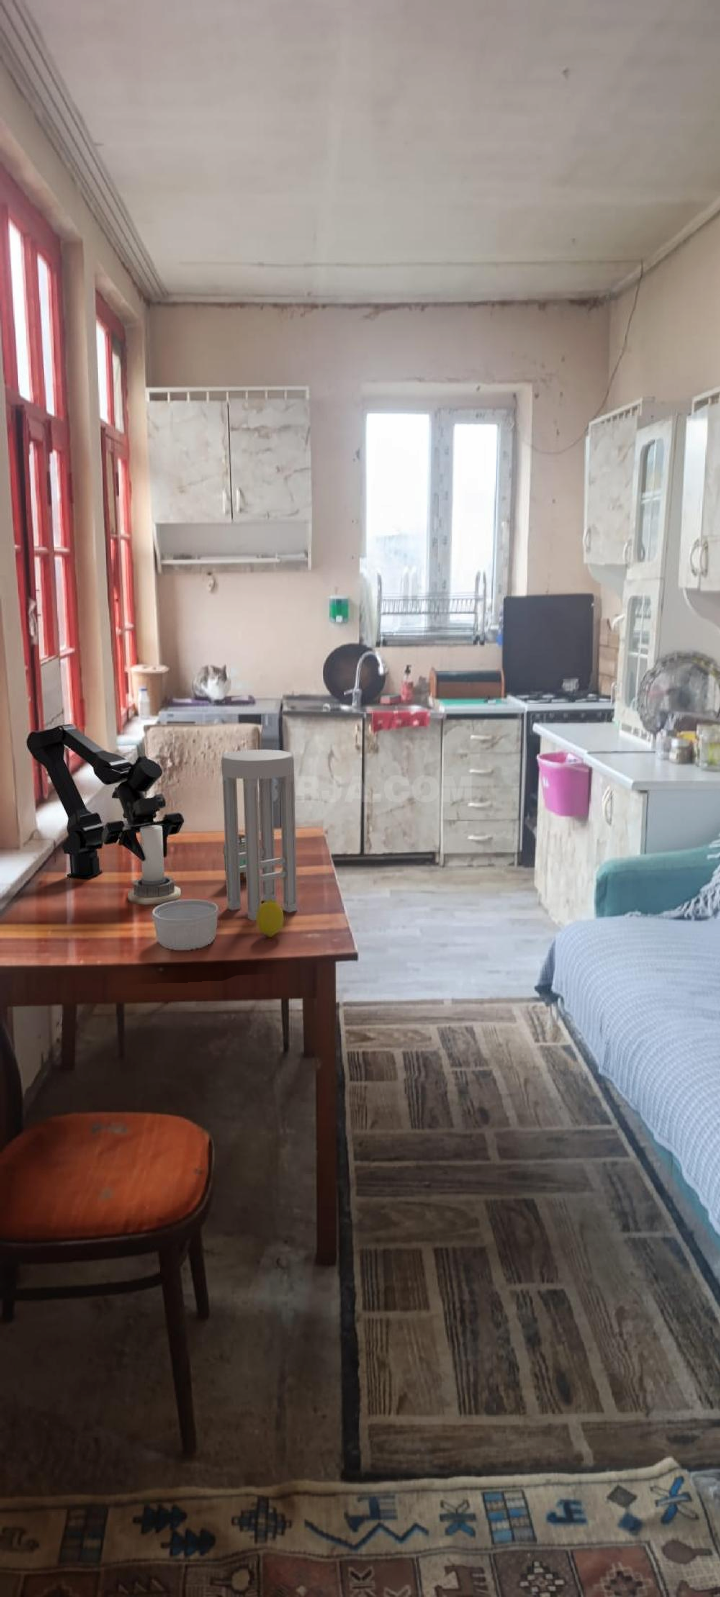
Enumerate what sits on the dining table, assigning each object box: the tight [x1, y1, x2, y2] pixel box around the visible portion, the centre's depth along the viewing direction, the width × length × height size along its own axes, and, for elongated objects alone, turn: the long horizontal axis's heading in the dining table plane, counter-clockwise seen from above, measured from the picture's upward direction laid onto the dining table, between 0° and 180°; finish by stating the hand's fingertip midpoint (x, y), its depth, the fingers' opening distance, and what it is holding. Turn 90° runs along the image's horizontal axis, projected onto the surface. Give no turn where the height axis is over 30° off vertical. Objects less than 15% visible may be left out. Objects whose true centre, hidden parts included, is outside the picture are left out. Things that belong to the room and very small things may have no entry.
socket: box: [127, 875, 182, 906], centre depth 231 cm, size 12×12×4 cm
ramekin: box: [151, 899, 219, 951], centre depth 201 cm, size 13×13×7 cm
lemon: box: [255, 900, 285, 938], centre depth 202 cm, size 6×6×8 cm
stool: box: [220, 749, 298, 921], centre depth 218 cm, size 16×16×35 cm
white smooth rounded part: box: [139, 825, 166, 886], centre depth 230 cm, size 5×5×14 cm
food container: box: [222, 833, 247, 885], centre depth 244 cm, size 12×6×10 cm, turn 168°
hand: (154, 858), depth 228 cm, fingers closed on white smooth rounded part, 5 cm apart
